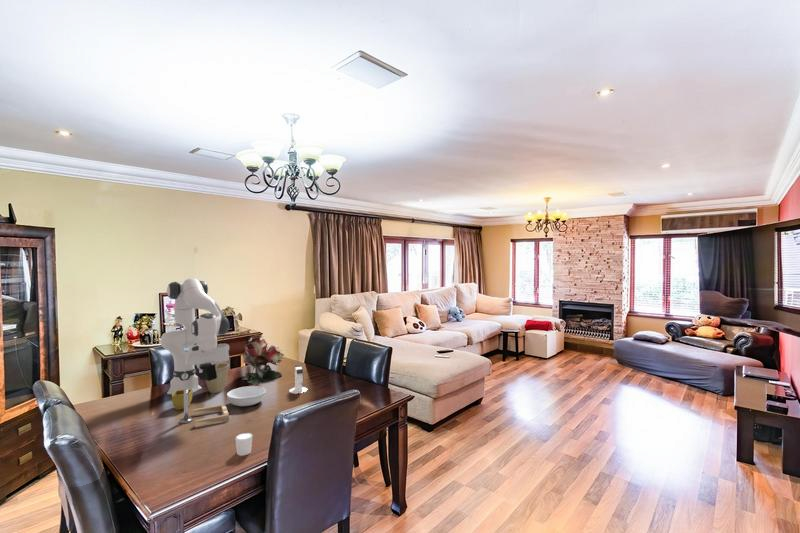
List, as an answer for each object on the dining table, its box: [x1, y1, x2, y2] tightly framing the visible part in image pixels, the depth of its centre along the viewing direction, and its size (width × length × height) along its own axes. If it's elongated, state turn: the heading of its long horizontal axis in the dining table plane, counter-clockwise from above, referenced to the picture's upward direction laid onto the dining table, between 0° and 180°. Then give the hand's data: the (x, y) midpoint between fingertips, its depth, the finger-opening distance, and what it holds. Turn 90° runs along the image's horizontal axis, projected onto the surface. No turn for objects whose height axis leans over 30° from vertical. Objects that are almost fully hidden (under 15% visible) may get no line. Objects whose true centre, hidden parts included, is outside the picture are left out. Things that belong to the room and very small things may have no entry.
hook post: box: [178, 390, 194, 425], centre depth 194 cm, size 10×6×16 cm, turn 31°
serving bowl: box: [226, 385, 267, 407], centre depth 221 cm, size 21×21×7 cm
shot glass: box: [235, 432, 254, 456], centre depth 165 cm, size 7×7×7 cm
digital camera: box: [197, 363, 217, 381], centre depth 199 cm, size 10×5×7 cm, turn 52°
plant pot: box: [204, 362, 230, 394], centre depth 241 cm, size 15×15×16 cm
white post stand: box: [289, 364, 309, 395], centre depth 242 cm, size 12×11×15 cm
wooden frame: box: [192, 403, 230, 428], centre depth 200 cm, size 18×16×3 cm
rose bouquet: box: [241, 334, 285, 385], centre depth 271 cm, size 26×29×30 cm
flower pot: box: [171, 389, 194, 411], centre depth 213 cm, size 9×9×9 cm
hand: (207, 371), depth 199 cm, fingers closed on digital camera, 5 cm apart
